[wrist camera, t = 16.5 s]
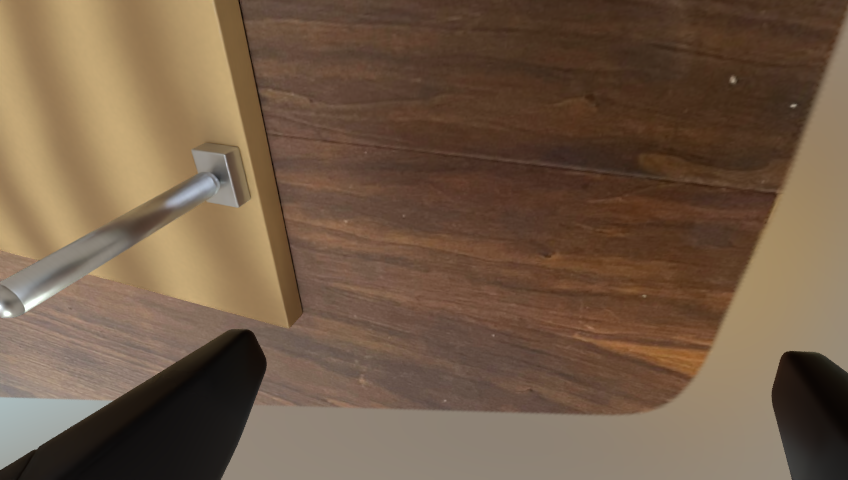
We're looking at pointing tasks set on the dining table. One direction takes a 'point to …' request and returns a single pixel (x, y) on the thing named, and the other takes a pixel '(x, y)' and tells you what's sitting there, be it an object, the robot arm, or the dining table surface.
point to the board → (140, 145)
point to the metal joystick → (128, 229)
